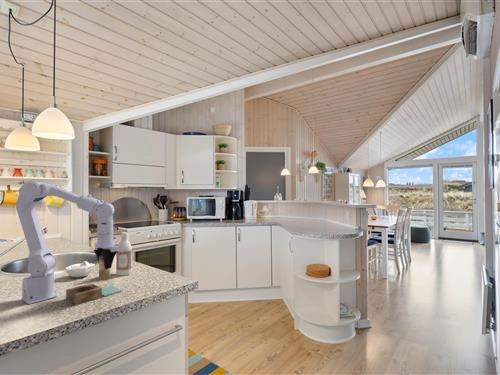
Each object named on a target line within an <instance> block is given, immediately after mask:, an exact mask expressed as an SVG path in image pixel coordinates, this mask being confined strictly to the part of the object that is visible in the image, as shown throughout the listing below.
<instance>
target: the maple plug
mask: <svg viewBox="0 0 500 375" xmlns="http://www.w3.org/2000/svg"><path fill="white" fill-rule="evenodd" d="M110 279H111V268H109V269H105V266H104V259H103V256H99V262H98V280H99V281H109V280H110Z"/></svg>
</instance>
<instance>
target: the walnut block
mask: <svg viewBox="0 0 500 375" xmlns="http://www.w3.org/2000/svg"><path fill="white" fill-rule="evenodd" d="M102 288H103V287H100V286H98V285H95V284H93V283H88V284H84V285H80V286H75V287H71V288H68V289H65V293H66V294H65V300H67V301H69V302H71V303H72V304H74V305H75V306H78V305H82V304H84V303H88V302H91V301H95V300H98V299H102V298H103V296H102ZM81 303H82V304H81Z"/></svg>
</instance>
